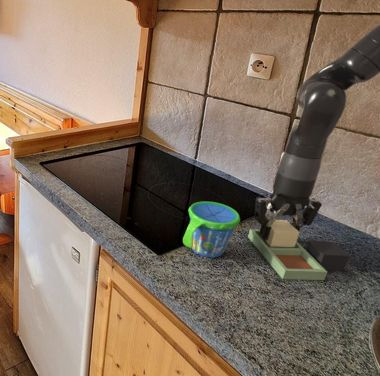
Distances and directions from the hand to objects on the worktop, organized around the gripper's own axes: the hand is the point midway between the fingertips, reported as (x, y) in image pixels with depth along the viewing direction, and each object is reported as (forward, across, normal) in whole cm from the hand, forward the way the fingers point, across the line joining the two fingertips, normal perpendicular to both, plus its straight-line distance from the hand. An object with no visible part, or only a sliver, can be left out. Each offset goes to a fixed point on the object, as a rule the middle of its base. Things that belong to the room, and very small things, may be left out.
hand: (277, 238), depth 95 cm
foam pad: (+1, 0, 0) cm, 1 cm away
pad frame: (+2, 0, -4) cm, 5 cm away
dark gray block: (+2, +8, -6) cm, 10 cm away
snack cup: (+3, -17, -2) cm, 17 cm away
